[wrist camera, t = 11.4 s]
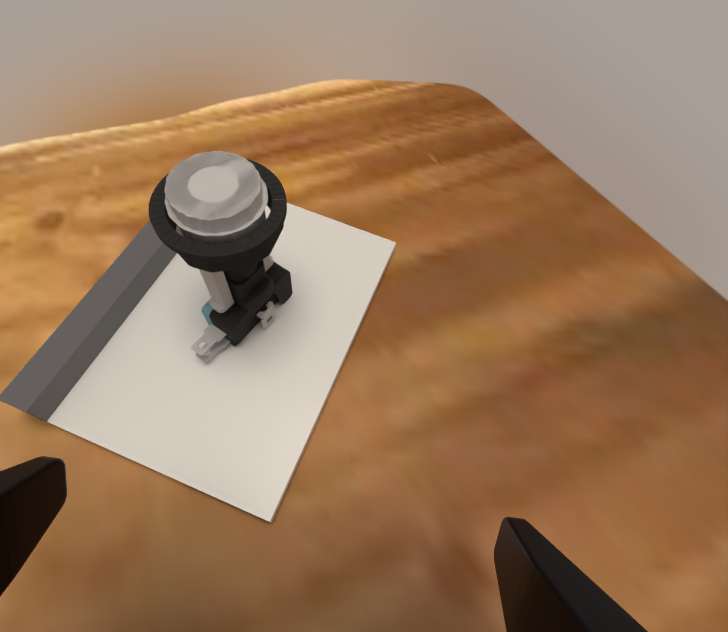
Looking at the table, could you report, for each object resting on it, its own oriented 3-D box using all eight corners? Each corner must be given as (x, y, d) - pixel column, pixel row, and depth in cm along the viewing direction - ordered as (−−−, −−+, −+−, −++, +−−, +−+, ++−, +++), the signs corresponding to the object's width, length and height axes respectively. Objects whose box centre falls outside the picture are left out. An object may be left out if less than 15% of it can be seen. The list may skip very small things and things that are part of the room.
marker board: (271, 522, 21) (265, 520, 18) (25, 412, 22) (-7, 397, 20) (394, 249, 29) (400, 225, 27) (211, 182, 30) (202, 154, 28)
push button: (239, 389, 23) (187, 291, 14) (166, 335, 24) (75, 213, 15) (315, 303, 26) (312, 177, 17) (247, 258, 27) (211, 118, 18)
